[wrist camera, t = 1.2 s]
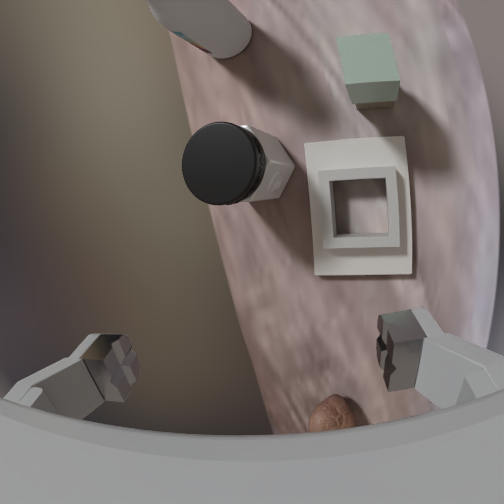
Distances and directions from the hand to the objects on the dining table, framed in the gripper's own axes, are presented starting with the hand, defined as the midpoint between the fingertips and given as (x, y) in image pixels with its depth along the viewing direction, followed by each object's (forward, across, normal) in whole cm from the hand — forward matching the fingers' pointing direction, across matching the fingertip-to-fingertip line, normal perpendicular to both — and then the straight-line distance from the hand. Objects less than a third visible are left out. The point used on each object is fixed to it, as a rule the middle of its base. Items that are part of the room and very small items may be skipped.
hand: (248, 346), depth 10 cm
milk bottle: (+38, +3, -22) cm, 44 cm away
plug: (+31, -13, -11) cm, 35 cm away
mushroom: (+25, -6, +31) cm, 40 cm away
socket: (+29, -10, +3) cm, 31 cm away
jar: (+34, +2, -2) cm, 34 cm away
